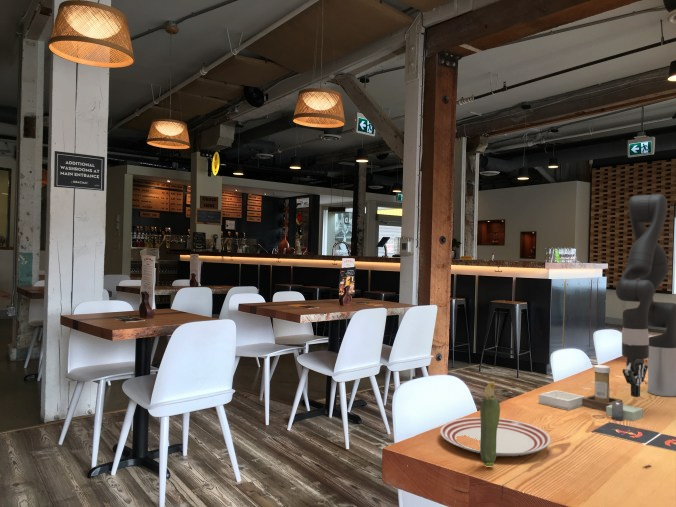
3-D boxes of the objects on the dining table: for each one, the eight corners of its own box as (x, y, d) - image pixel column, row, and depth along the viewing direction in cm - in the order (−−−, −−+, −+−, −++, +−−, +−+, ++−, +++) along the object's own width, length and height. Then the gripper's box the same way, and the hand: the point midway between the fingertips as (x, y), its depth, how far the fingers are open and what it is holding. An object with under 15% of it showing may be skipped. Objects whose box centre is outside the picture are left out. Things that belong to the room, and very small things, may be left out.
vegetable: (477, 463, 124) (477, 377, 124) (495, 463, 125) (495, 377, 125) (484, 470, 120) (484, 382, 120) (502, 470, 120) (503, 382, 120)
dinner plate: (492, 472, 119) (492, 458, 119) (419, 436, 144) (419, 424, 144) (574, 453, 132) (574, 440, 132) (495, 423, 156) (495, 412, 156)
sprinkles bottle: (612, 407, 174) (612, 366, 174) (604, 409, 171) (604, 367, 171) (599, 404, 177) (599, 364, 178) (591, 406, 175) (591, 365, 175)
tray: (555, 398, 184) (555, 390, 184) (584, 405, 176) (584, 396, 176) (538, 403, 178) (538, 394, 178) (568, 410, 170) (568, 401, 170)
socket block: (595, 401, 181) (595, 394, 181) (622, 407, 173) (622, 400, 174) (581, 406, 175) (581, 398, 175) (609, 412, 168) (609, 404, 168)
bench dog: (614, 417, 163) (614, 400, 163) (624, 419, 160) (624, 402, 160) (610, 418, 161) (610, 402, 161) (620, 421, 159) (620, 404, 159)
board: (616, 412, 169) (616, 402, 169) (643, 418, 163) (643, 408, 163) (606, 416, 165) (606, 406, 165) (633, 422, 159) (633, 412, 159)
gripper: (632, 338, 176) (632, 390, 176) (613, 342, 167) (613, 397, 168) (656, 341, 170) (657, 395, 170) (638, 346, 162) (638, 402, 162)
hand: (635, 396), depth 169 cm, fingers closed
